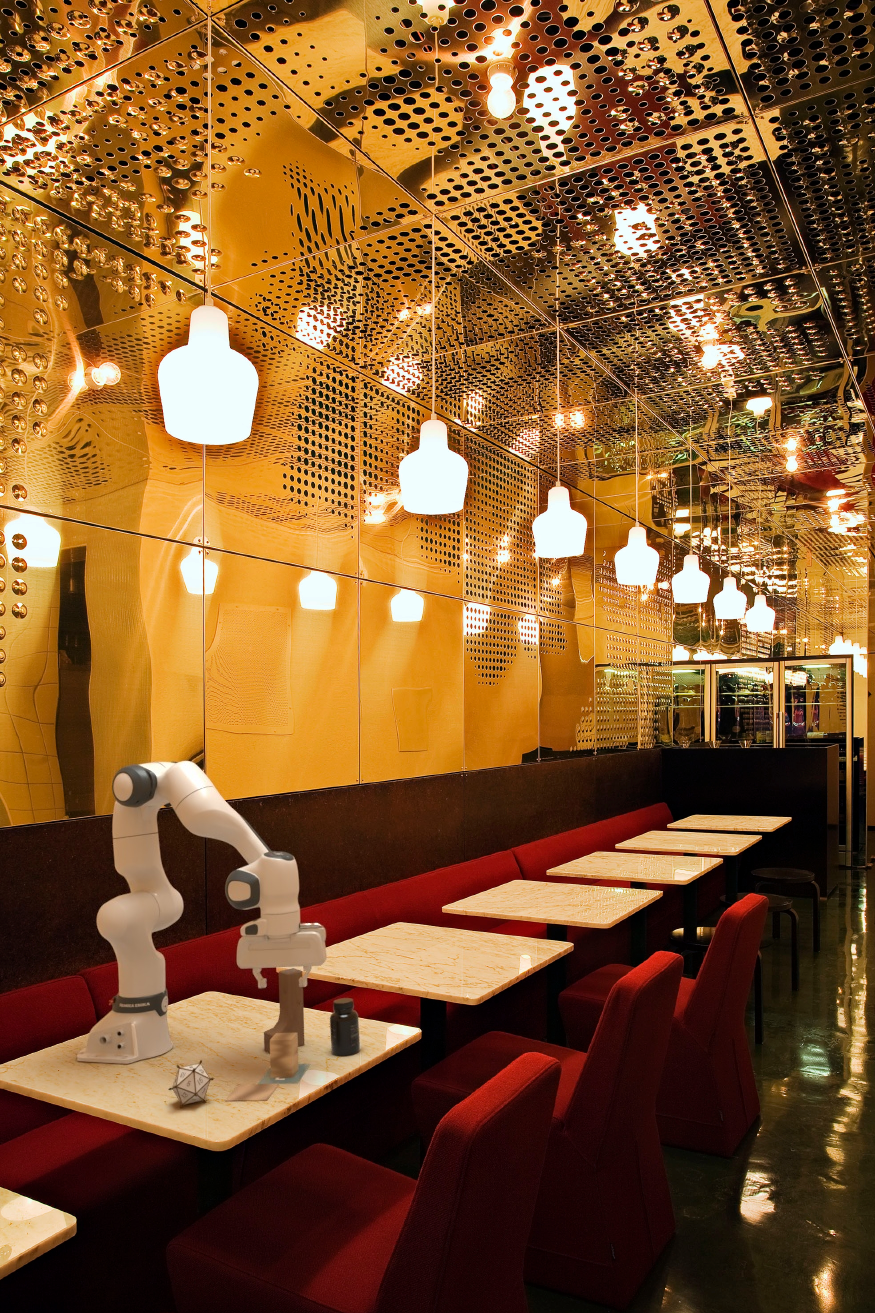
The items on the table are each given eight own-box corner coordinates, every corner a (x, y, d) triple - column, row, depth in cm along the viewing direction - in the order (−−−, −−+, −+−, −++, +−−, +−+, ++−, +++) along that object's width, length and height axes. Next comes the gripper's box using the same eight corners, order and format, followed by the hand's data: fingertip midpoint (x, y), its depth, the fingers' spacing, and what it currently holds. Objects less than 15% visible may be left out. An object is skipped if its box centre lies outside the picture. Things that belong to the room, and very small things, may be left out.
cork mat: (224, 1102, 180) (224, 1100, 180) (238, 1086, 189) (238, 1084, 189) (267, 1102, 179) (266, 1100, 179) (278, 1085, 188) (278, 1083, 188)
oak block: (270, 1078, 192) (269, 1040, 193) (276, 1070, 197) (276, 1033, 198) (292, 1077, 192) (291, 1040, 193) (298, 1069, 197) (297, 1032, 198)
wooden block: (272, 1055, 208) (270, 977, 211) (263, 1051, 212) (261, 974, 214) (305, 1046, 214) (302, 970, 216) (296, 1042, 218) (293, 967, 220)
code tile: (257, 1085, 189) (257, 1084, 189) (272, 1065, 201) (272, 1064, 201) (297, 1084, 188) (297, 1083, 188) (310, 1065, 200) (310, 1064, 200)
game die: (181, 1125, 179) (152, 1085, 180) (210, 1096, 186) (181, 1058, 187) (201, 1112, 174) (171, 1071, 175) (230, 1082, 181) (200, 1043, 182)
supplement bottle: (354, 1046, 212) (352, 995, 214) (364, 1054, 206) (362, 1001, 207) (327, 1051, 209) (325, 999, 211) (336, 1059, 203) (334, 1006, 204)
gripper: (328, 920, 201) (330, 982, 199) (242, 923, 203) (243, 985, 201) (322, 925, 195) (324, 989, 193) (233, 928, 196) (235, 992, 195)
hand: (282, 987), depth 197 cm, fingers open, 8 cm apart
